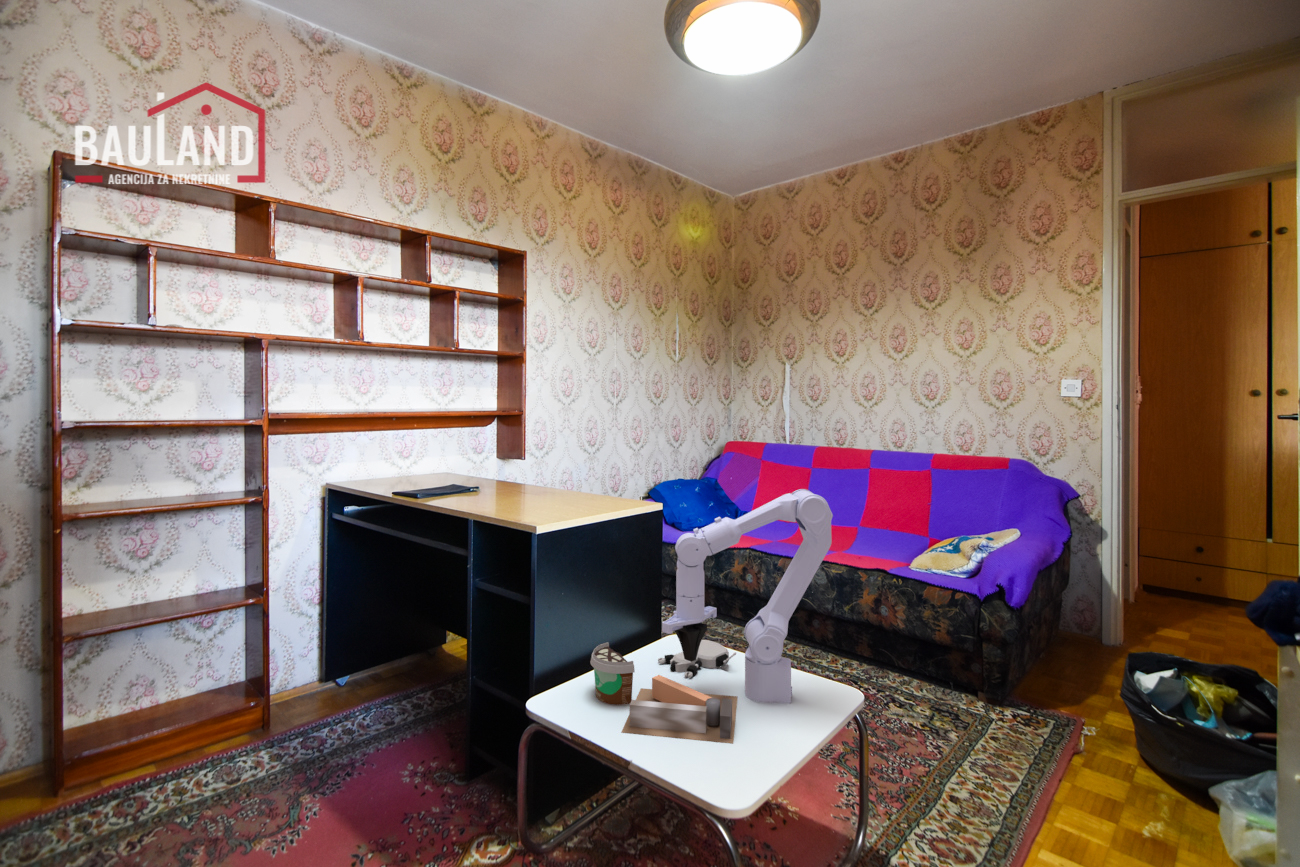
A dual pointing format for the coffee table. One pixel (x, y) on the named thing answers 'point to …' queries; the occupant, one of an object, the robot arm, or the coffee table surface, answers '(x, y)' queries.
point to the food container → (612, 676)
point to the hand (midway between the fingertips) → (690, 659)
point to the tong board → (684, 735)
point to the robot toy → (699, 659)
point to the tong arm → (685, 697)
